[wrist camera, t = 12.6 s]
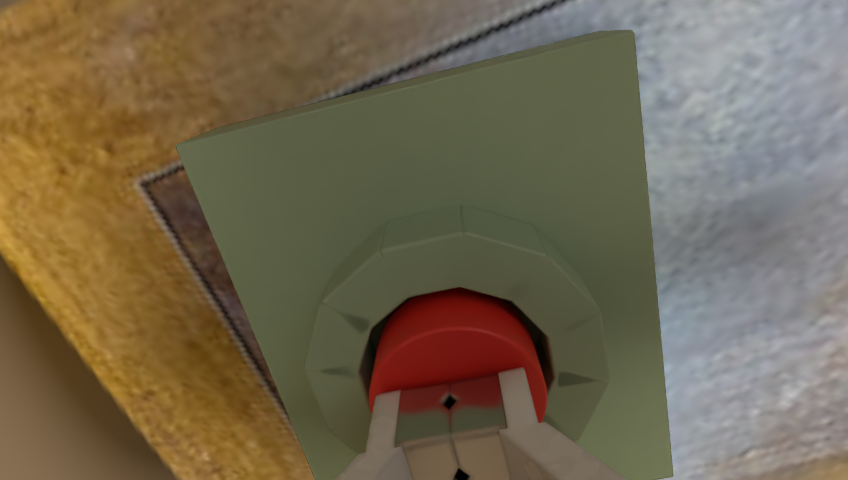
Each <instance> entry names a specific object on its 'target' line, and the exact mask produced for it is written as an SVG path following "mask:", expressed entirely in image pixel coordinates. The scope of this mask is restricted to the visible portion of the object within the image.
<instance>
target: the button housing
mask: <svg viewBox="0 0 848 480" xmlns="http://www.w3.org/2000/svg"><path fill="white" fill-rule="evenodd" d="M176 149H177V152H178V154H179V156H180V159H181V161H182V164H183V166H184V168H185V171H186V173H187V176H188V178H189V180H190V183H191V185H192V187H193V190H194V192H195V195H196V197H197V199H198V202H199V204H200V206H201V209H202V211H203V214H204V216H205V218H206V221H207V223H208V226H209V228H210V230H211V233H212V235H213V237H214V240H215V242H216V245H217V247H218V249H219V252H220V254H221V256H222V259H223V261H224V264H225V266H226V268H227V271H228V273H229V276H230V278H231V280H232V283H233V285H234V287H235V290H236V292H237V295H238V297H239V299H240V302H241V304H242V307H243V309H244V311H245V314H246V316H247V318H248V321H249V323H250V326H251V328H252V330H253V333H254V335H255V337H256V340H257V342H258V345H259V347H260V349H261V352H262V354H263V357H264V359H265V361H266V364H267V366H268V368H269V371H270V373H271V376H272V378H273V380H274V383H275V385H276V387H277V390H278V392H279V395H280V397H281V399H282V402H283V404H284V407H285V409H286V411H287V414H288V416H289V418H290V421H291V423H292V426H293V428H294V430H295V433H296V435H297V437H298V440H299V442H300V445H301V447H302V449H303V452H304V454H305V457H306V459H307V461H308V464H309V466H310V468H311V471H312V473H313V476H314V478H315V480H334V479H335V478H336V477H337V476H338V475H339V474H340V473H341V472H342V471H343V470H344V469H345V468H346V467H347V465H348V464H349V463H350V462H351V461H352V460H353V459H354V458H355V457H356V456H357V455H358V454H361V453H365V451H366V446H367V440H368V435H369V429H370V424H371V418H372V415H371V411H370V406H369V389H370V384H371V379H372V374H373V369H374V364H375V359H376V354H377V348H378V344H379V339H380V336H381V333H382V331H383V328H384V326H385V325H386V323H387V321H388V320H389V319H390V317H391V316H392V315H393V313H394V312H395V311H397V310H398V309H399V308H400V307H401V306H402V305H403V304H405V303H406V302H407V301H409V300H411V299H412V298H414V297H416V296H418V295H423V294H428V293H433V292H438V291H443V290H448V289H453V288H458V287H462V288H465V289H469V290H472V291H476V292H480V293H483V294H487V295H491V296H494V297H498V298H500V299H501V300H503V301H504V302H506V303H507V304H509V305H510V306H511V307H512V308H513V309H514V310H516V312H517V313H518V314H519V315H520V316H521V317H522V319H523V320H524V322H525V323H526V325H527V327H528V329H529V331H530V334H531V337H532V340H533V343H534V347H535V350H536V353H537V356H538V360H539V363H540V366H541V369H542V373H543V376H544V380H545V383H546V388H547V407H546V412H545V416H544V418H543V421H542V423H543V422H547V423H548V424H550V425H551V426H552V427H554V428H555V429H557V430H558V431H559V432H561V433H562V434H564V435H565V436H566V437H568V438H569V439H571V440H572V441H574V442H575V443H576V444H578V445H579V446H581V447H582V448H583V449H585V450H586V451H588V452H589V453H591V454H592V455H593V456H595V457H596V458H598V459H599V460H600V461H602V462H603V463H605V464H606V465H607V466H609V467H610V468H612V469H613V470H615V471H616V472H617V473H619V474H620V475H622V476H623V477H624V478H626V479H627V480H656V479H663V478H669V477H673V467H672V455H671V444H670V433H669V421H668V410H667V398H666V387H665V376H664V364H663V353H662V342H661V330H660V319H659V308H658V296H657V285H656V273H655V262H654V251H653V239H652V228H651V217H650V205H649V194H648V182H647V171H646V160H645V148H644V137H643V126H642V114H641V103H640V92H639V80H638V69H637V57H636V46H635V35H634V31H633V30H611V31H598V32H594V33H590V34H586V35H582V36H578V37H574V38H570V39H566V40H562V41H558V42H554V43H550V44H546V45H543V46H539V47H535V48H531V49H527V50H523V51H519V52H515V53H511V54H507V55H503V56H499V57H495V58H491V59H487V60H483V61H479V62H475V63H471V64H467V65H464V66H460V67H456V68H452V69H448V70H444V71H440V72H436V73H432V74H428V75H424V76H420V77H416V78H412V79H408V80H404V81H400V82H396V83H392V84H388V85H384V86H381V87H377V88H373V89H369V90H365V91H361V92H357V93H353V94H349V95H345V96H341V97H337V98H333V99H329V100H325V101H321V102H317V103H313V104H309V105H305V106H302V107H298V108H294V109H290V110H286V111H282V112H278V113H274V114H270V115H266V116H262V117H258V118H254V119H250V120H246V121H242V122H238V123H234V124H230V125H226V126H222V127H219V128H215V129H212V130H210V131H208V132H205V133H203V134H200V135H198V136H196V137H193V138H191V139H188V140H186V141H183V142H181V143H179V144H177V145H176Z"/></svg>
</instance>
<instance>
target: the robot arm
mask: <svg viewBox="0 0 848 480" xmlns="http://www.w3.org/2000/svg"><path fill="white" fill-rule="evenodd" d="M498 375H499V376H498ZM334 480H627V479H626V478H624V477H623V476H622V475H620V474H619V473H617V472H616V471H615V470H613V469H612V468H610V467H609V466H607V465H606V464H605V463H603V462H602V461H600V460H599V459H598V458H596V457H595V456H593V455H592V454H591V453H589V452H588V451H586V450H585V449H583V448H582V447H581V446H579V445H578V444H576V443H575V442H574V441H572V440H571V439H569V438H568V437H566V436H565V435H564V434H562V433H561V432H559V431H558V430H557V429H555V428H554V427H552V426H551V425H550V424H548V423H547V422H543V423H538V420H537V416H536V412H535V408H534V404H533V400H532V396H531V393H530V389H529V385H528V381H527V377H526V373H525V369H524V368H523V367H520V368H516V369H511V370H506V371H502V372H498V373H496V374H491V375H486V376H480V377H475V378H470V379H465V380H459V381H454V382H446V383H439V384H433V385H427V386H421V387H414V388H408V389H403V390H397V391H391V392H385V393H380V394H378V395H377V396H376V398H375V402H374V407H373V413H372V418H371V424H370V429H369V435H368V440H367V446H366V451H365V453H361V454H358V455H357V456H356V457H355V458H354V459H353V460H352V461H351V462H350V463H349V464H348V465H347V467H346V468H345V469H344V470H343V471H342V472H341V473H340V474H339V475H338V476H337V477H336V478H335V479H334Z"/></svg>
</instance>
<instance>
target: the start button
mask: <svg viewBox="0 0 848 480" xmlns="http://www.w3.org/2000/svg"><path fill="white" fill-rule="evenodd" d="M520 367H523V368H524V369H525V373H526V377H527V381H528V385H529V389H530V393H531V396H532V400H533V404H534V408H535V412H536V416H537V420H538V423H542V421H543V418H544V416H545V412H546V407H547V388H546V383H545V380H544V376H543V373H542V369H541V366H540V363H539V360H538V356H537V353H536V350H535V347H534V343H533V340H532V337H531V334H530V331H529V329H528V327H527V325H526V323H525V322H524V320H523V319H522V317H521V316H520V315H519V314H518V313H517V312H516V310H514V309H513V308H512V307H511V306H510V305H509V304H507V303H506V302H504V301H503V300H501V299H500V298H498V297H494V296H491V295H487V294H483V293H480V292H476V291H472V290H469V289H465V288H462V287H458V288H453V289H448V290H443V291H438V292H433V293H428V294H423V295H418V296H416V297H414V298H412V299H411V300H409V301H407V302H406V303H405V304H403V305H402V306H401V307H400V308H399V309H398V310H397V311H395V312H394V313H393V315H392V316H391V317H390V319H389V320H388V321H387V323H386V325H385V326H384V328H383V331H382V333H381V336H380V339H379V344H378V348H377V354H376V359H375V364H374V369H373V374H372V379H371V384H370V389H369V406H370V411H371V415H372V413H373V407H374V402H375V398H376V396H377V395H378V394H380V393H385V392H391V391H397V390H403V389H408V388H414V387H421V386H427V385H433V384H439V383H446V382H454V381H459V380H465V379H470V378H475V377H480V376H486V375H491V374H496V373H498V372H502V371H506V370H511V369H516V368H520ZM498 376H499V375H498Z"/></svg>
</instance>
